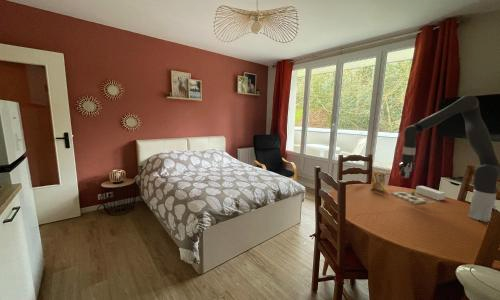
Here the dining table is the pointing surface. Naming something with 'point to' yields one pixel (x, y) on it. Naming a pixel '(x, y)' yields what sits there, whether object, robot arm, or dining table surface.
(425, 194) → the grey housing
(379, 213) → the dining table surface
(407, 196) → the cream peg board
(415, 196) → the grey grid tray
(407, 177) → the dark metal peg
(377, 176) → the candy box
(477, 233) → the dining table surface
